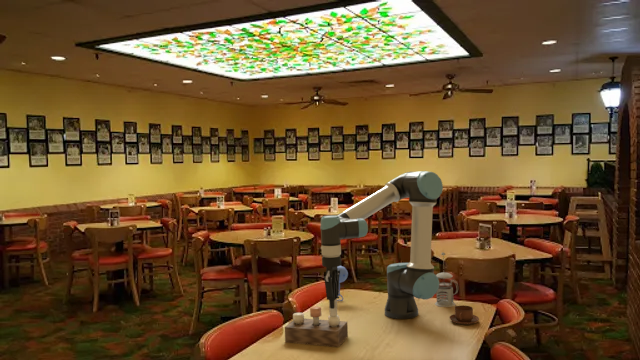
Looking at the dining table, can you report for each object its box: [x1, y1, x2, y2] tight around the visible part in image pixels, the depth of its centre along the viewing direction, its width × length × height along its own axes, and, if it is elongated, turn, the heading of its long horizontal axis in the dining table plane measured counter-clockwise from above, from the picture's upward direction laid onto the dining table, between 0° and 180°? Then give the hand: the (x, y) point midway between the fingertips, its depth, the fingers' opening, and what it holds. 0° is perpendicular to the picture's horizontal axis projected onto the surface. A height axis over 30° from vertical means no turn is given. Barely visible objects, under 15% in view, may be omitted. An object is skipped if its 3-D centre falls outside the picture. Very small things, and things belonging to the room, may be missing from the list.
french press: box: [434, 252, 459, 308], centre depth 234 cm, size 10×12×25 cm
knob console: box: [284, 317, 349, 348], centre depth 194 cm, size 22×12×6 cm, turn 70°
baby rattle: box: [336, 265, 349, 302], centre depth 248 cm, size 9×9×18 cm
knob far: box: [292, 312, 305, 324], centre depth 196 cm, size 4×4×7 cm
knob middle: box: [309, 305, 322, 326], centre depth 194 cm, size 4×4×7 cm
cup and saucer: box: [449, 304, 480, 325], centre depth 208 cm, size 12×12×6 cm
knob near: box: [327, 314, 341, 327], centre depth 191 cm, size 4×4×7 cm
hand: (333, 315), depth 191 cm, fingers closed
